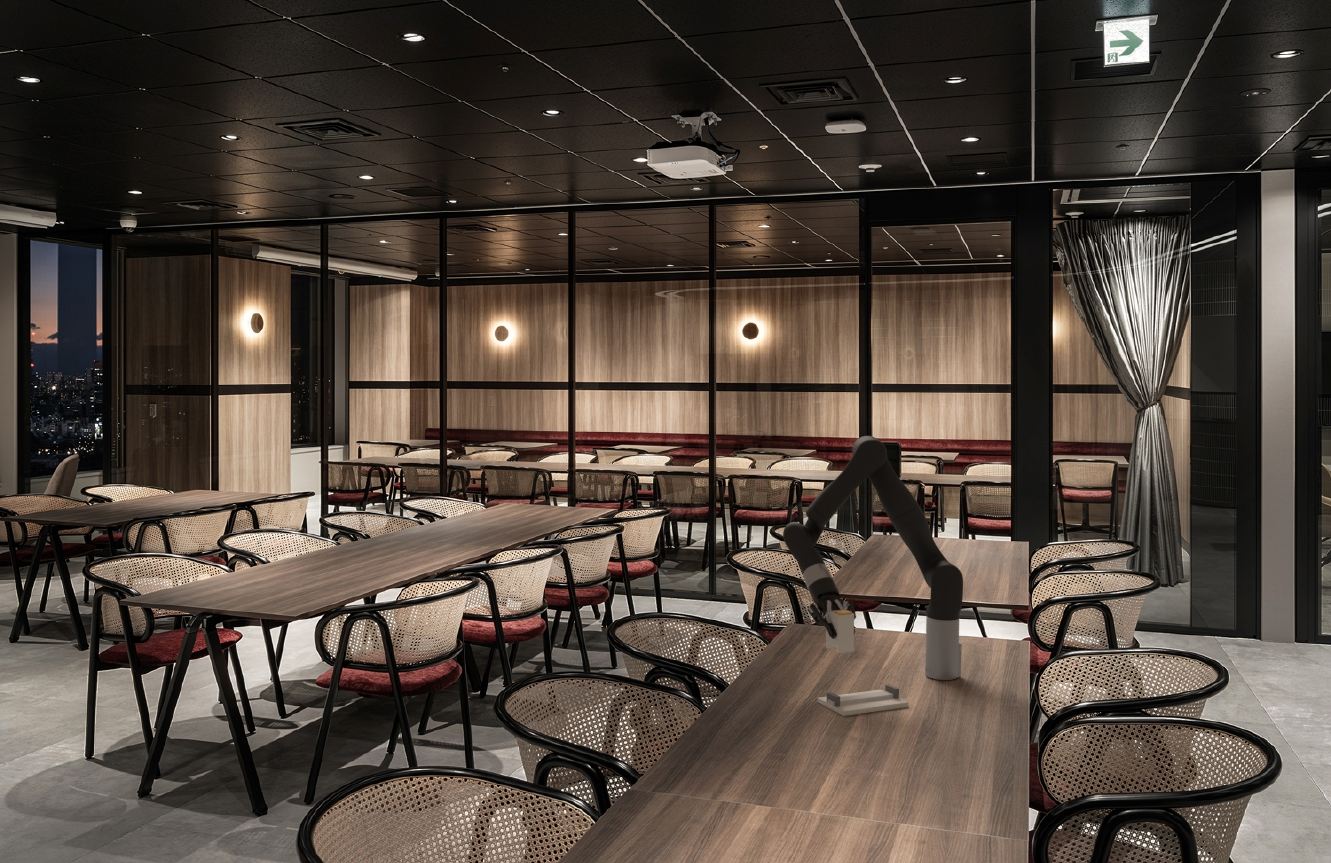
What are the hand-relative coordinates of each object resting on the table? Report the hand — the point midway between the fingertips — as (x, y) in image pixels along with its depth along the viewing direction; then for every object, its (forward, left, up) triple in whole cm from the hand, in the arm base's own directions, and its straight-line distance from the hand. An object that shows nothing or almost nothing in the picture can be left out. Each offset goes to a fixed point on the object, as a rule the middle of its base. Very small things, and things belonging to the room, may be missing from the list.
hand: (843, 635), depth 272 cm
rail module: (0, -2, -4) cm, 5 cm away
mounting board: (0, +9, -16) cm, 19 cm away
